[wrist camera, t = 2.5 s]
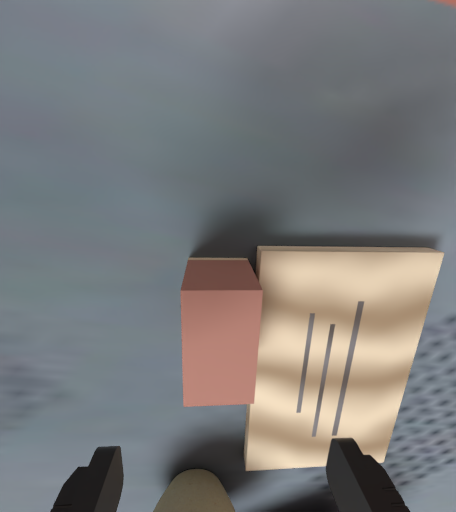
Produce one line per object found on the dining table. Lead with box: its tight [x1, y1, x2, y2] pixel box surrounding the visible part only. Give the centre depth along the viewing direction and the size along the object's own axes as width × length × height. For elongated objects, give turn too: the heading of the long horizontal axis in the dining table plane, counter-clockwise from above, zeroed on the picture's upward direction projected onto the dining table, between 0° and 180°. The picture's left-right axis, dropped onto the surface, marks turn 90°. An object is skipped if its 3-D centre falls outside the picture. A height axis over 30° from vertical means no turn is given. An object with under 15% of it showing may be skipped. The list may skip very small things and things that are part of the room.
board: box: [244, 246, 444, 471], centre depth 22 cm, size 22×14×2 cm, turn 178°
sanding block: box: [181, 258, 263, 407], centre depth 18 cm, size 8×4×6 cm, turn 178°
